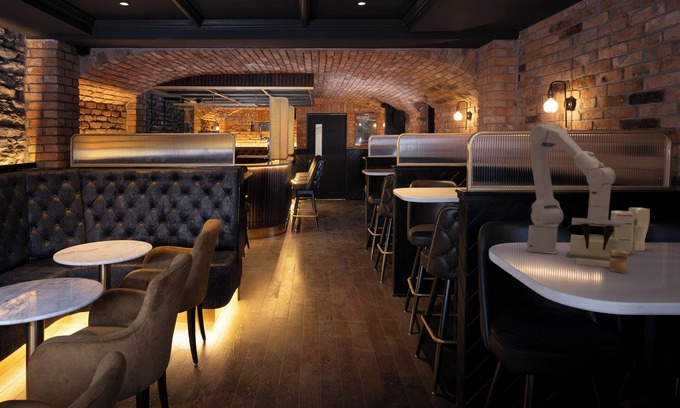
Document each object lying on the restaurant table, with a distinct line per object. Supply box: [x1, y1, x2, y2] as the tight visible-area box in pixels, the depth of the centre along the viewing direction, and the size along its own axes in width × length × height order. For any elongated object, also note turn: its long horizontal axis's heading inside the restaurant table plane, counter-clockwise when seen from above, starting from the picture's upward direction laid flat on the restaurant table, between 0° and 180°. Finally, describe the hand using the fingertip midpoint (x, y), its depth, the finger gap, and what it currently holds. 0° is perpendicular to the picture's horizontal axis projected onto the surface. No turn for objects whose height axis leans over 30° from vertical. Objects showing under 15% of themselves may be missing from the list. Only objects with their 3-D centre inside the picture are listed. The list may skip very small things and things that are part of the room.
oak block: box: [608, 250, 629, 274], centre depth 150 cm, size 4×4×6 cm
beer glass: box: [628, 207, 651, 252], centre depth 182 cm, size 7×7×15 cm
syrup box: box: [610, 210, 633, 255], centre depth 177 cm, size 6×6×14 cm
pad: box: [575, 258, 610, 268], centre depth 159 cm, size 10×7×1 cm
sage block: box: [588, 233, 604, 256], centre depth 159 cm, size 4×4×6 cm
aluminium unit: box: [565, 234, 619, 261], centre depth 167 cm, size 16×5×7 cm, turn 66°
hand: (595, 248), depth 159 cm, fingers closed on sage block, 4 cm apart
